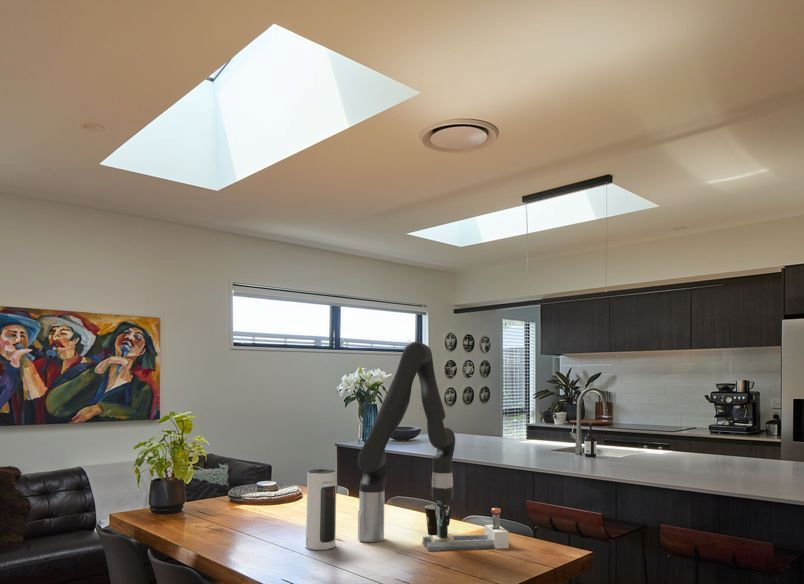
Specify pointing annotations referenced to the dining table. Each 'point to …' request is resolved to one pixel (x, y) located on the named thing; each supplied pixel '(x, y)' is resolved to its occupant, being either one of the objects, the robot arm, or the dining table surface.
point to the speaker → (321, 509)
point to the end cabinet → (498, 536)
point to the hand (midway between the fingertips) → (442, 535)
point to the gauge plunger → (496, 518)
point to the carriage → (437, 537)
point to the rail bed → (460, 543)
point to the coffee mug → (431, 519)
